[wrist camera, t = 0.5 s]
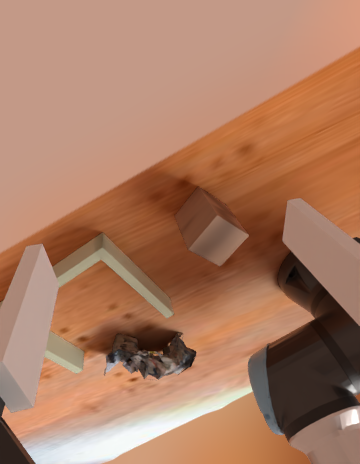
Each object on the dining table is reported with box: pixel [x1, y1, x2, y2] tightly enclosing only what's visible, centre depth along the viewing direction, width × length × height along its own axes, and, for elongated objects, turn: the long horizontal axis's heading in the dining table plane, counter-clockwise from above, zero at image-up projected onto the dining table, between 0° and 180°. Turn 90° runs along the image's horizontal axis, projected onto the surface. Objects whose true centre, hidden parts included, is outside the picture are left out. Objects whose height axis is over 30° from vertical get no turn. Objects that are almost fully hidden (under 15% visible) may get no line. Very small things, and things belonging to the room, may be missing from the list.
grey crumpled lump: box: [104, 332, 196, 380], centre depth 58 cm, size 12×11×15 cm
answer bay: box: [0, 232, 174, 374], centre depth 50 cm, size 19×22×4 cm
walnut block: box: [174, 186, 249, 266], centre depth 43 cm, size 6×6×9 cm
